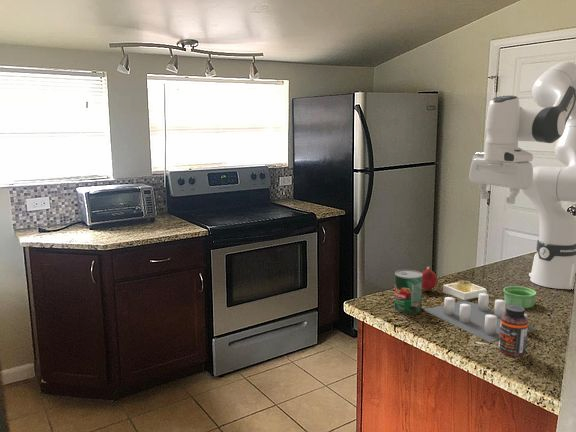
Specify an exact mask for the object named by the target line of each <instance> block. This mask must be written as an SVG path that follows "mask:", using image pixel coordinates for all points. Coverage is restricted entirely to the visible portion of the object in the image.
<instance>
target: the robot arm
mask: <svg viewBox="0 0 576 432" xmlns="http://www.w3.org/2000/svg"><path fill="white" fill-rule="evenodd" d="M531 96H532V99H533V101H534V102H535V103H536V105H537V106H539V107H522V106H520V99H519V97H518V96H515V95H502V96H501V95H499V96H496V97H493V98H492V99H490V101H489V104H488V107H487V113H486V120H485V131H486V138H485V141H484V150H483V151H484V152H481V151H478V152H476V153H474V154H473V156H472V159H471V164H470V168H469V176H468V179H469V182H470V183H474V184H478V190H479V191H480V194H481V195H480V199H481V200H482V199H483V200H489V199H490V193H489V192H488V191H487V187H488V186H495V187H501V188H502V187H503V188H508V189H509V192H510V195H509V196H507V197H506V203H507V204H510V205H514V204H515V203H516V197H517V196H518V195H519V193H520V191H522V193H523V194H524V195H525V196H526V197H527V198H528V199H529V200H530V201H531V202H532V203H533V205H534V206H535V208H536V211H537V214H538V219H539V220H538V221H539V223H538V224H539V226H538V227H539V233H538V239H537V240H536V253H535V254H534V257H533V262H532V267H531V272H529V273H528V276H529V277H530V279H529V280H530V282H532V283H533V284H534V285H535V284H536V285H538V286H540V287H545V288H549V289H550V288H552V289H557V290H558V289H559V290H571V289H572V290H571V291H574V290H573V285H574V282H575V273H576V217H575V216H574V215H573V214H572V213H570V212H569V211H568V210H566V209H564V208H563V206H562V204H561V202H571V203H572V202H573V203H576V64H575V63H574V62H571V61H562V62H557V63H556V64H554V65H552V66H551V67H549V68H548V69H547V70H545V71H544V72H543V73H541V75H540V76H538V78H537V79H536V80H535V82H534V83H533V86H532V88H531ZM519 142H538V143H543V144H544V143H546V144H553V143H555V142H556V145H555V148H554V155H555V157H556V159H557V160H558V161H560V162H561V164H564V165H565V166H552V165H551V166H547V165H540V166H533V164H532V163H531V162H532V161H533V160H534V154H532V153H531V152H529V151H526V150H525V149H523V148H520V146H519Z"/></svg>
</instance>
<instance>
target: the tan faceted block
mask: <svg viewBox="0 0 576 432" xmlns="http://www.w3.org/2000/svg"><path fill="white" fill-rule="evenodd" d="M456 283H457V290H459V291H461V292H464V293H465V292H470V291H472V284H473V283H472V282H471V281H469V280H463V279H462V280H458V281H456Z"/></svg>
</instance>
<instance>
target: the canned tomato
mask: <svg viewBox="0 0 576 432" xmlns="http://www.w3.org/2000/svg"><path fill="white" fill-rule="evenodd" d="M422 276H423V274H422V272H421V271H417V270H414V269H413V270H412V269H400V270H396V271H395V272H394V303H393V305H394V306H393V307H394V310H395V311H397V312H400V313H404V314H416V313H419V312H421V311H422V306H423V305H422V302H423V301H422V299H423V298H422V297H423V296H422V295H423V288H422Z"/></svg>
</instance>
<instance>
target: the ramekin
mask: <svg viewBox="0 0 576 432" xmlns="http://www.w3.org/2000/svg"><path fill="white" fill-rule="evenodd" d="M502 291H503V299H504V301H506V305H507V306H509V305H516V306H520V307H523V308H524V309H529V308H530V309H531V308H533V307H534V304H535V299H536V296H537V292H536V290H534V289H532V288H529V287H526V286H521V285H520V286H518V285H511V286H509V285H508V286H505V287H504V288H503V290H502Z"/></svg>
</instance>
